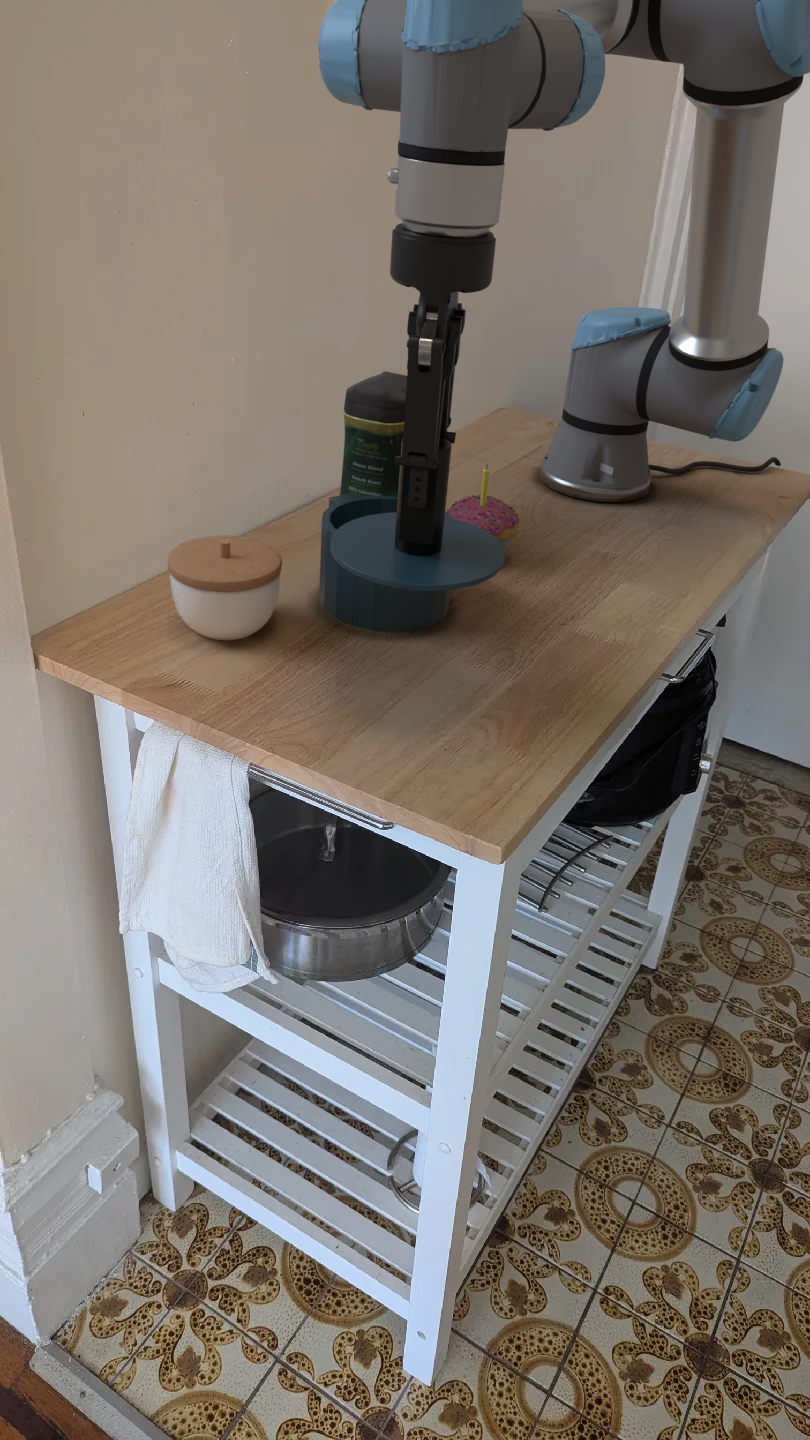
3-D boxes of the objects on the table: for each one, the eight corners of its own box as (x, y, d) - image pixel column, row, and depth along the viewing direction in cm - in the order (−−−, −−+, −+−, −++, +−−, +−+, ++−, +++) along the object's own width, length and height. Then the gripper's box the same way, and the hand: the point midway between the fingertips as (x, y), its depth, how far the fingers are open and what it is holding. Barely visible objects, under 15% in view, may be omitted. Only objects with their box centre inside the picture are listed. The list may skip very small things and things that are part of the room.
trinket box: (237, 667, 99) (236, 576, 94) (147, 634, 103) (142, 544, 98) (301, 624, 107) (304, 537, 102) (216, 595, 111) (214, 510, 106)
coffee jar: (388, 555, 123) (400, 394, 113) (327, 539, 125) (333, 380, 115) (420, 527, 130) (434, 374, 120) (362, 513, 133) (371, 362, 123)
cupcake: (509, 577, 120) (523, 475, 114) (435, 566, 121) (445, 464, 115) (517, 548, 127) (531, 450, 121) (448, 537, 128) (458, 440, 122)
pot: (384, 559, 122) (390, 479, 117) (490, 628, 109) (502, 543, 104) (282, 582, 115) (283, 499, 109) (383, 660, 102) (389, 570, 97)
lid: (432, 512, 99) (442, 404, 94) (539, 574, 89) (557, 457, 84) (297, 542, 91) (298, 426, 86) (397, 613, 82) (407, 488, 76)
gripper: (410, 205, 84) (391, 488, 96) (372, 239, 69) (356, 566, 82) (505, 214, 83) (473, 498, 96) (486, 251, 69) (452, 578, 81)
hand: (419, 529), depth 89 cm, fingers closed on lid, 4 cm apart
